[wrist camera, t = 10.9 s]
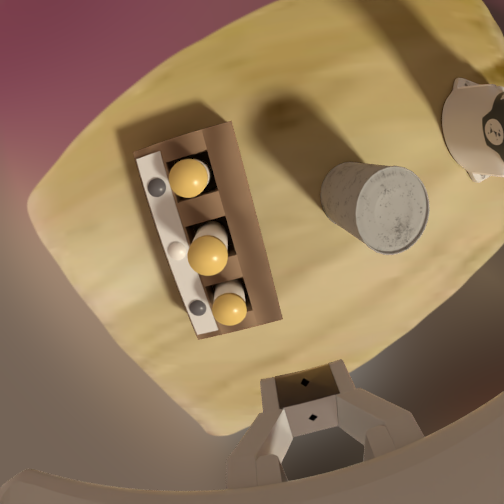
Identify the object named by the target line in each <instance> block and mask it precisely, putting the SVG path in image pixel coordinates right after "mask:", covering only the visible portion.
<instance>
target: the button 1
mask: <svg viewBox="0 0 504 504" xmlns="http://www.w3.org/2000/svg"><path fill="white" fill-rule="evenodd" d="M211 176H212V171H211V168H210V166H209V165H208V164H207V163H206V162H205V161H203V160H200V159H184V160H181V161H179V162H177V163H176V164H175V165H174V166H173V167H172V169H171V171H170V174H169V184H170V187H171V188H172V190H173V191H174V192H175V193H176V194H177V195H179V196H181V197H185V198H191V197H194V196H197V195H198V194H200V193H201V192H202V191H203V190H204V188H205V187H206V186H207V185H208V183H209V182H210V180H211Z"/></svg>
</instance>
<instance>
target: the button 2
mask: <svg viewBox="0 0 504 504" xmlns="http://www.w3.org/2000/svg"><path fill="white" fill-rule="evenodd" d="M212 313H213V316H214V318H215V319H216V320H217V321H218V322H219V323H221V324H223V325H228V326H231V325H236V324H238V323H240V322H241V321H242V320H243V319H244V318H245V316H246V313H247V309H246V303H245V294H244V284H243V279H242V278H237V279H233V280H229V281H225V282H222V283H218V284H215V291H214V301H213V307H212Z"/></svg>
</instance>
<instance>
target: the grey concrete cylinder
mask: <svg viewBox="0 0 504 504" xmlns="http://www.w3.org/2000/svg"><path fill="white" fill-rule="evenodd" d="M320 198H321V205H322V207H323V210H324V212H325V214H326V215H327V217H328V218H329V219H330V220H331V221H332V222H333V223H335V224H337V225H338V226H340V227H342V228H343V229H345V230H346V231H348V232H349V233H351V234H352V235H353V236H355V237H356V238H358V239H359V240H361V241H362V242H364V243H365V244H366V245H367V246H368V247H369V248H371V249H372V250H374V251H375V252H377V253H381V254H384V255H394V254H398V253H401V252H403V251H405V250H407V249H409V248H410V247H411V246H413V245H414V244H415V243H416V242H417V240H418V239H419V238H420V237H421V235H422V233H423V231H424V230H425V227H426V224H427V221H428V216H429V199H428V194H427V191H426V189H425V186H424V184H423V183H422V181H421V180H420V179H419V177H418V176H417V175H416V174H414V173H413V172H412V171H410V170H408V169H406V168H404V167H399V166H384V165H374V164H364V163H358V162H345V163H342V164H339V165H337V166H336V167H334V168H333V169H332V170H331V171H330V172H329V173H328V174H327V176H326V177H325V179H324V181H323V184H322V187H321V195H320Z"/></svg>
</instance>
